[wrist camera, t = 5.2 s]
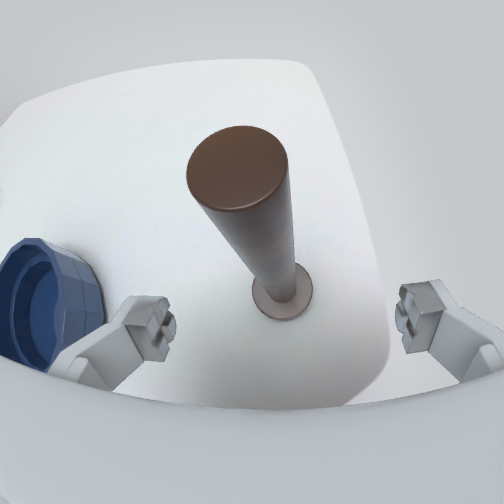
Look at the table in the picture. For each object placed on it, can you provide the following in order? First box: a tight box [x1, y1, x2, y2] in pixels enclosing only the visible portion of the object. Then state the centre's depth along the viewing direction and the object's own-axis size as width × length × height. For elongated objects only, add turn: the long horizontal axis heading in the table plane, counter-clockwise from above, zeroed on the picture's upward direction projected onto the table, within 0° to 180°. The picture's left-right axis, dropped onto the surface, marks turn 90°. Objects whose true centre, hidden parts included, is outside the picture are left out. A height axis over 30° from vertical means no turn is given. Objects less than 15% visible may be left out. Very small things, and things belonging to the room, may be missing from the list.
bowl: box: [0, 238, 104, 373], centre depth 22 cm, size 14×14×6 cm
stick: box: [186, 126, 313, 321], centre depth 14 cm, size 4×4×18 cm
